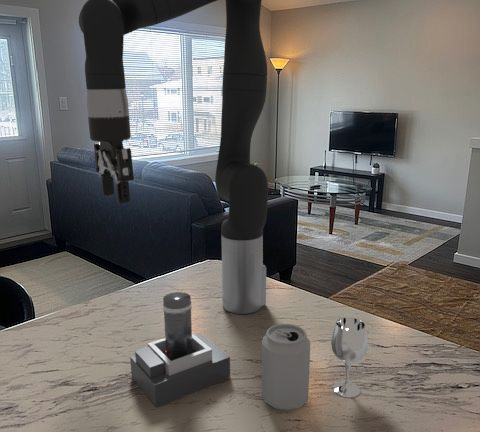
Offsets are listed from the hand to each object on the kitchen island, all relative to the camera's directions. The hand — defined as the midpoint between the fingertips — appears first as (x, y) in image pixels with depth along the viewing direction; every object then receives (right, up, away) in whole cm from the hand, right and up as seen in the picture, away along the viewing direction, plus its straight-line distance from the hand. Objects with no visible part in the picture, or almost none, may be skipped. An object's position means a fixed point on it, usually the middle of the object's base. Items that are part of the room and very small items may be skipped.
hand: (115, 198), depth 93 cm
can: (+32, -33, -17) cm, 49 cm away
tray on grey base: (+14, -32, -11) cm, 36 cm away
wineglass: (+42, -33, -14) cm, 55 cm away
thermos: (+14, -28, -12) cm, 33 cm away
